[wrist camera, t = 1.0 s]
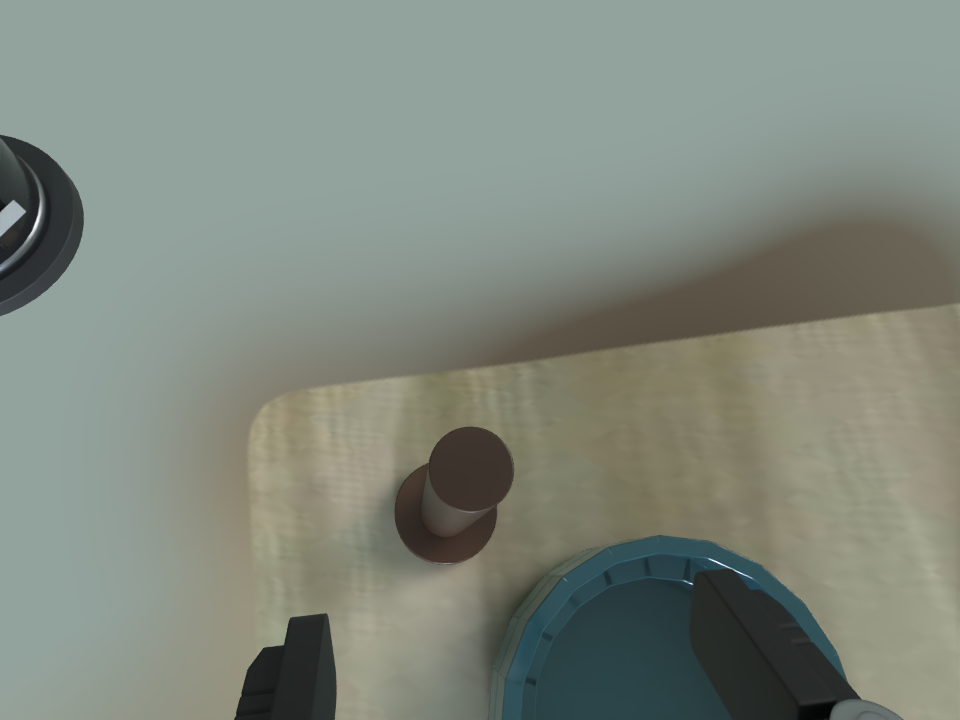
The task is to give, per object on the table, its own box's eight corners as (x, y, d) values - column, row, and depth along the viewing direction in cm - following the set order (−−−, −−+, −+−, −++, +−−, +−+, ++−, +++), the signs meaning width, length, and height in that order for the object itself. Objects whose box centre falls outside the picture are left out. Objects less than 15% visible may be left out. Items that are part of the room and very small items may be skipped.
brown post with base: (377, 493, 33) (354, 435, 19) (463, 445, 34) (501, 357, 20) (425, 584, 32) (438, 594, 18) (512, 531, 33) (588, 501, 19)
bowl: (429, 646, 31) (432, 659, 26) (677, 488, 35) (719, 475, 30) (601, 982, 28) (641, 1066, 23) (856, 765, 31) (936, 799, 27)
